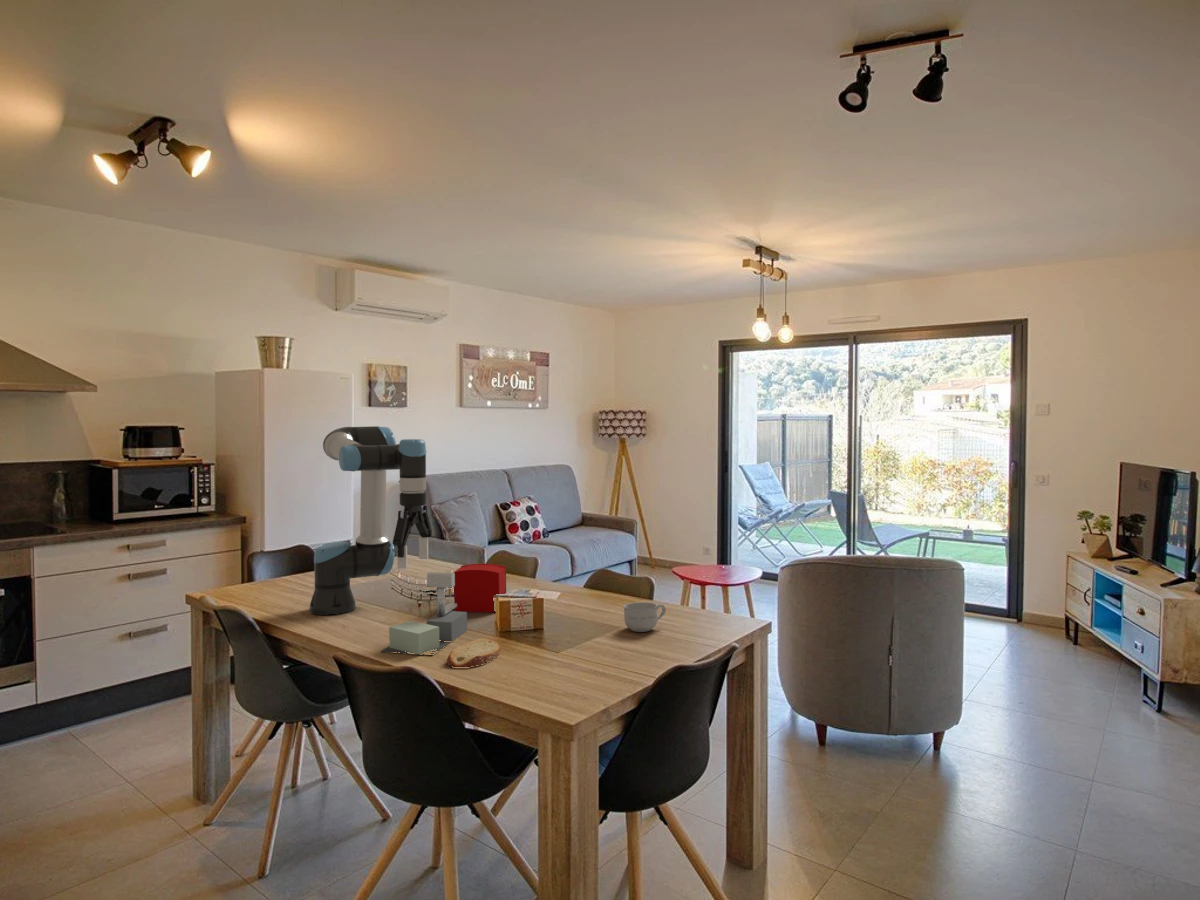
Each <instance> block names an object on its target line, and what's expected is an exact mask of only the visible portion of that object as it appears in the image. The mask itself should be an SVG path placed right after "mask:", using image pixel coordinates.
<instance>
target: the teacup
mask: <svg viewBox="0 0 1200 900" xmlns="http://www.w3.org/2000/svg"><path fill="white" fill-rule="evenodd" d="M659 608H661V609H662V610H661V612H660V613H659V615H658V609H659ZM666 610H667V609H666V607H665V605H664V604H663V603H657V604H656V603H654V602H648V601H647V602H645V601H643V602H642V601H636V602H630V603H626V604H624V605H623V615H624V624H625V626H626V627H627V628H628V629H629V630H630V631H632V632H636V633H637V632H638V633H643V632H650V631H652V630H653V629H654V628H655V626H657V624H658V621H659V620H661V619H662V618H663V616H664V615H665V614H666Z"/></svg>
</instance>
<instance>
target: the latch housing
mask: <svg viewBox="0 0 1200 900" xmlns="http://www.w3.org/2000/svg"><path fill="white" fill-rule="evenodd" d="M426 624H428V625H433V626H438V627H439V640H441V641H453V640H454V639H455V640H457V639H458V638H459V637H461V636H462V635H464V634H465V633H466V632H468V612H465V611H453V610H451V611H450V612H448V613H447V614H445V615H444V616H437V614H436V615H434V616H432V617H430V618H429V619H427V620H426ZM464 632H465V633H464ZM461 634H462V635H461ZM460 635H461V636H460ZM457 637H458V638H457ZM456 638H457V639H456ZM455 640H454V641H455ZM454 641H453V642H454Z"/></svg>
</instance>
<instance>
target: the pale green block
mask: <svg viewBox="0 0 1200 900" xmlns="http://www.w3.org/2000/svg"><path fill="white" fill-rule="evenodd" d="M388 631H389V634H388V635H389V638H388V639H389V646H390V648H393V649H397V650H401V651H406V652H410V653H415V654H422V653H424V652H427V651H430V650H433V649H436V648H438V647H439V627H438V626H433V625H428V624H427V623H423V622H418V621H413V620H408V621H404V622H402V623H398V624H396V625H392V626H389V627H388Z"/></svg>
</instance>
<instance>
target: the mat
mask: <svg viewBox="0 0 1200 900" xmlns="http://www.w3.org/2000/svg"><path fill="white" fill-rule="evenodd" d="M449 643H450V644H451V642H444V641H439V647H438V648H436V649H437V650H436V651H439V650H440V649H442V648H443V647H444V646H446V645H447V644H449ZM450 644H449V645H450ZM447 646H448V645H447ZM447 646H446V647H447ZM444 648H445V647H444ZM444 648H443V649H444ZM443 649H442V650H443ZM434 650H435V649H434ZM436 651H432V652H436ZM440 651H441V650H440ZM440 651H439V652H440ZM382 652H397V653H398V652H400V653H407V652H405V651H401V650H397V649H393V648H390V645H388V646H387V647H385V648H384V649H382V650H380V653H382ZM430 652H431V651H430ZM431 654H434V653H431Z"/></svg>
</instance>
